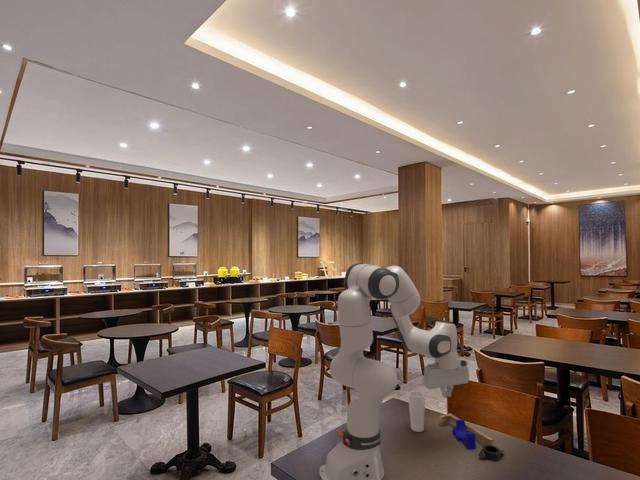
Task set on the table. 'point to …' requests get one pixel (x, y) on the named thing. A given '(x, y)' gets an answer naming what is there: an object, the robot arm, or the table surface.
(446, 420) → the bar
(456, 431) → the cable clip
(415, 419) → the drinking glass
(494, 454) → the black winged round fixture
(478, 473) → the table surface
